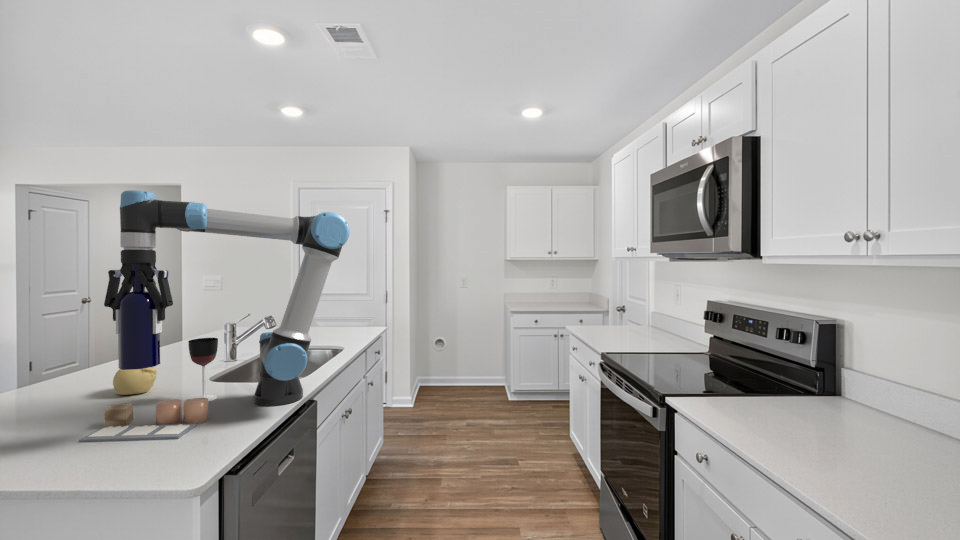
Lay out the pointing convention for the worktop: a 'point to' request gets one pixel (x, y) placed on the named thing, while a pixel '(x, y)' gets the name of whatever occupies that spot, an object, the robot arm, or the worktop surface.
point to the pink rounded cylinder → (168, 412)
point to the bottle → (137, 329)
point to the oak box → (119, 415)
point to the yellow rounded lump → (134, 380)
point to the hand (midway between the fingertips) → (139, 332)
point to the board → (138, 432)
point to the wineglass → (203, 356)
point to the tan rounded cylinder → (196, 411)
